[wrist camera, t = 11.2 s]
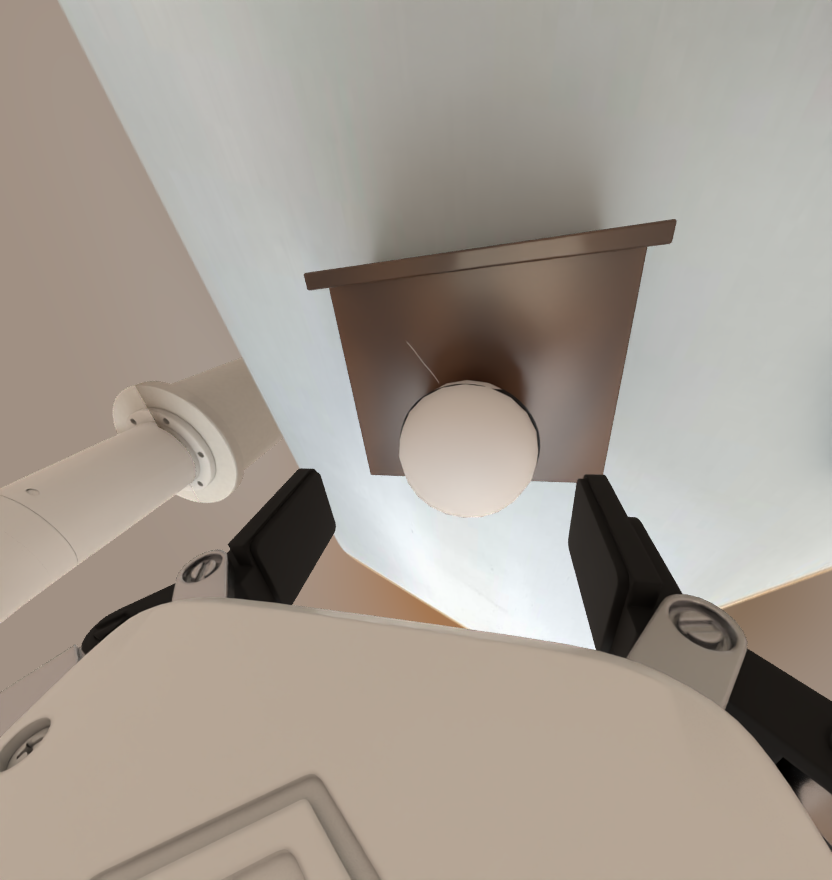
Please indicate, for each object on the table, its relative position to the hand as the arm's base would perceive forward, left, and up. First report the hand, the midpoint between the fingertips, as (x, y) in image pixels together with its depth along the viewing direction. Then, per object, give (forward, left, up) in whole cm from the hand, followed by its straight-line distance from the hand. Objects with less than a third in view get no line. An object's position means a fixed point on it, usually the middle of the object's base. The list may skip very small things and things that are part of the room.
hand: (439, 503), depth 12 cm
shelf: (0, +1, -18) cm, 18 cm away
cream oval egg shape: (0, 0, -10) cm, 10 cm away
